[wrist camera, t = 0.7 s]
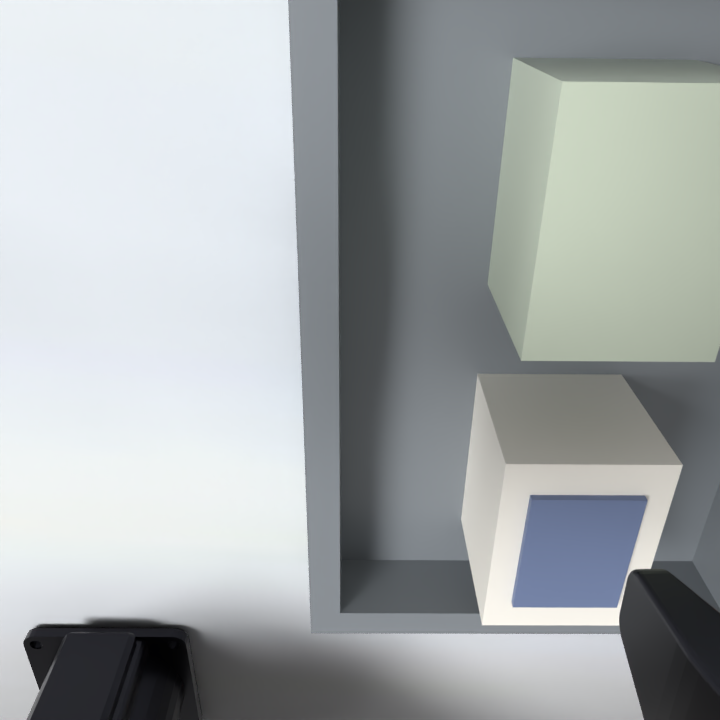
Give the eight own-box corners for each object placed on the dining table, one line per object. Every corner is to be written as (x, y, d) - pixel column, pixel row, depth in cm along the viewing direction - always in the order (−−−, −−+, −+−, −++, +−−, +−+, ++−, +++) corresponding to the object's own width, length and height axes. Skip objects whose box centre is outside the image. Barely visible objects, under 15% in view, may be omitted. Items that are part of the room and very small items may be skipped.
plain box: (642, 285, 20) (714, 362, 16) (487, 284, 19) (521, 360, 16) (695, 59, 17) (800, 84, 13) (512, 57, 17) (562, 81, 13)
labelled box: (587, 520, 24) (635, 631, 20) (461, 519, 24) (482, 630, 20) (621, 374, 21) (686, 470, 17) (477, 373, 21) (507, 469, 17)
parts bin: (704, 568, 26) (743, 634, 23) (315, 567, 26) (311, 633, 23) (941, -81, 16) (1058, -93, 13) (296, -90, 16) (284, -105, 13)
